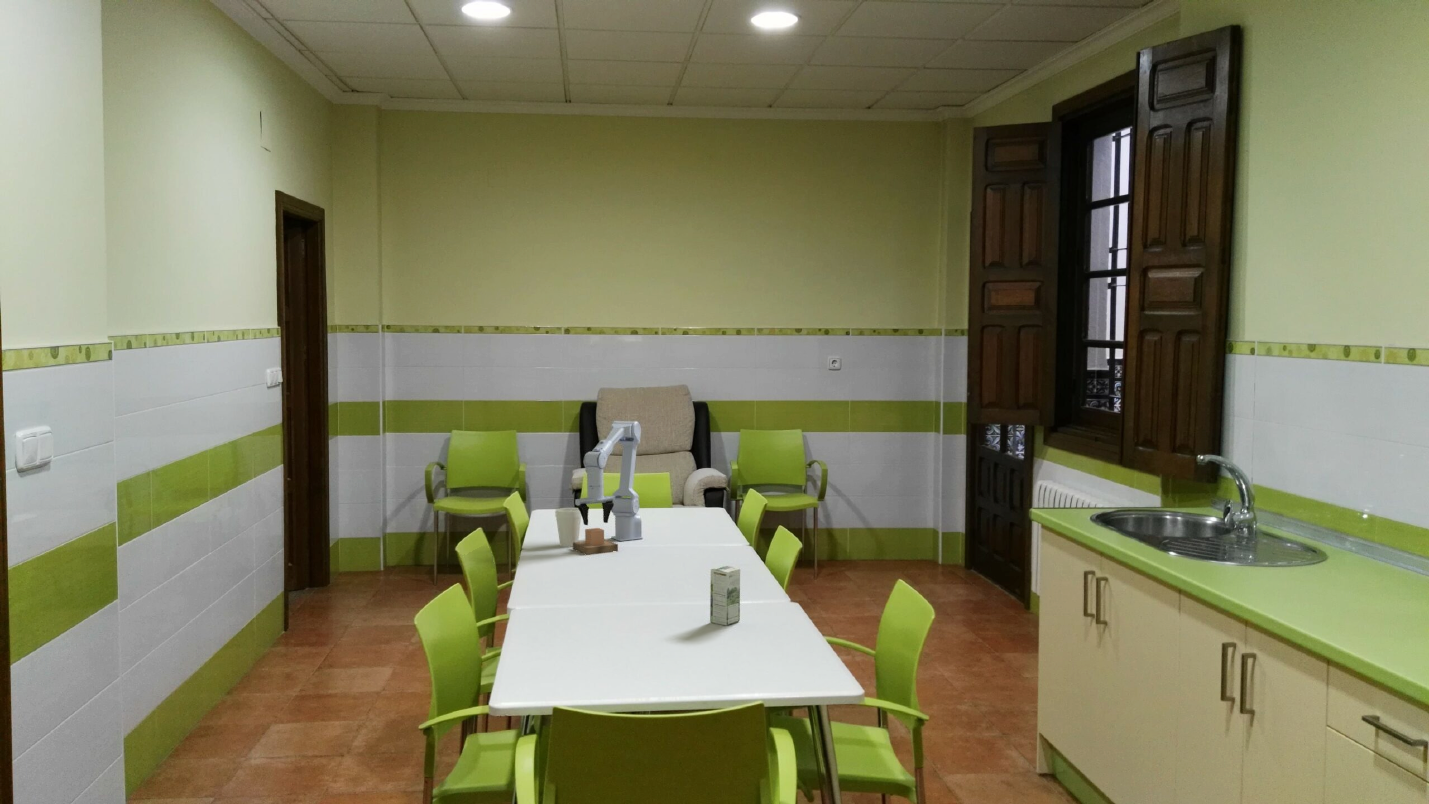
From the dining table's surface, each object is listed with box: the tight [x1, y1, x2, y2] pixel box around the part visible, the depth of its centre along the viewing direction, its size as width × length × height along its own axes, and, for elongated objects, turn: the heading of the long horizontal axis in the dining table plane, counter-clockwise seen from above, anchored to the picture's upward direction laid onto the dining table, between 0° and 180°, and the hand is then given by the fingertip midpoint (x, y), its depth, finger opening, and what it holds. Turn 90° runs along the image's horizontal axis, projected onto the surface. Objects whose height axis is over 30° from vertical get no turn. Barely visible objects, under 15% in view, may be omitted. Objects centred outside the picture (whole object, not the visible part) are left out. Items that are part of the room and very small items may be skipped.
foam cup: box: [554, 507, 582, 548], centre depth 383 cm, size 10×9×13 cm
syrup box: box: [709, 565, 741, 626], centre depth 279 cm, size 6×6×14 cm
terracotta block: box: [584, 527, 605, 545], centre depth 374 cm, size 5×5×5 cm
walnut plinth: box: [572, 538, 619, 556], centre depth 375 cm, size 12×12×3 cm
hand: (595, 523), depth 375 cm, fingers open, 7 cm apart
